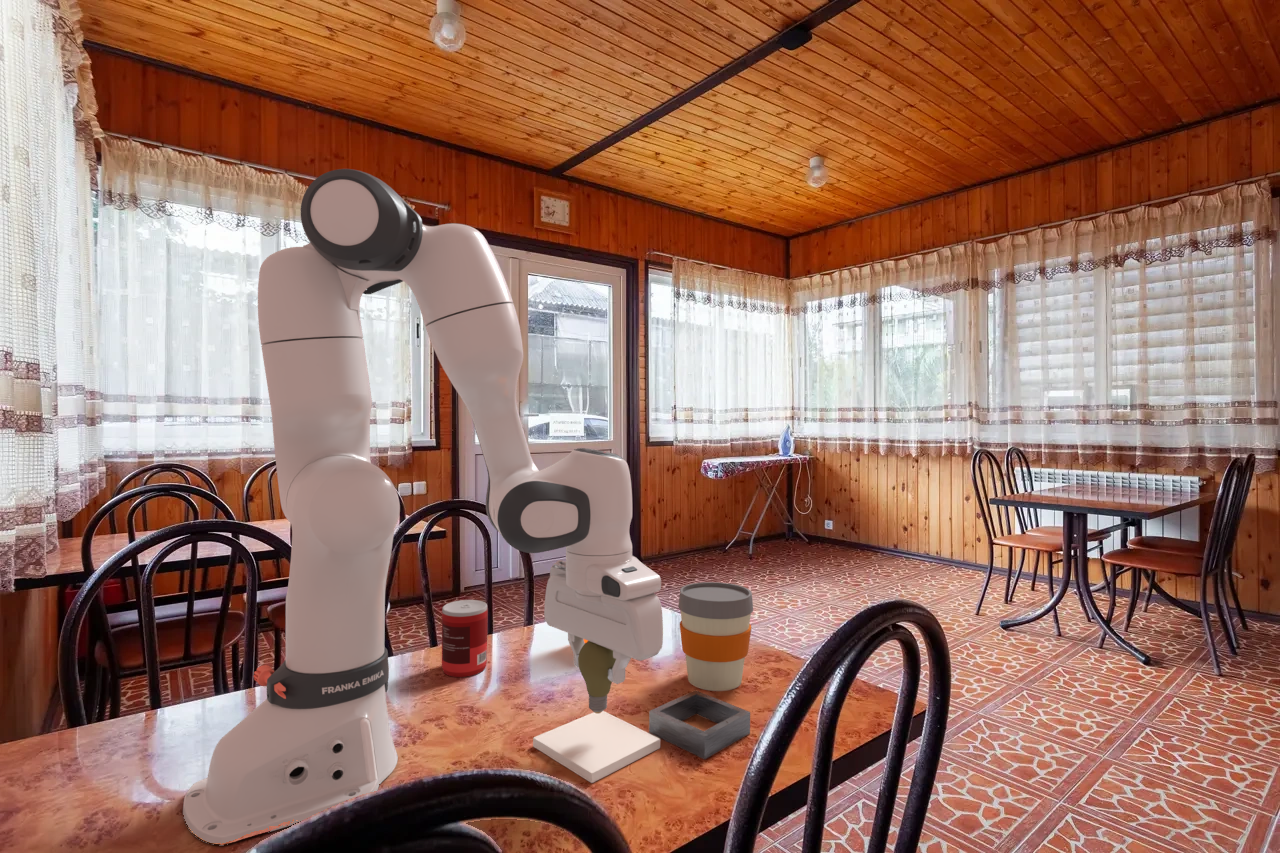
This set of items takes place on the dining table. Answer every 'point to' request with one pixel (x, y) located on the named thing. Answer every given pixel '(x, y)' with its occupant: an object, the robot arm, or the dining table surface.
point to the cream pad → (596, 745)
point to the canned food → (464, 638)
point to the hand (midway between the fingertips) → (598, 673)
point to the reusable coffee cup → (715, 633)
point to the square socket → (692, 739)
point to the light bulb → (596, 673)
